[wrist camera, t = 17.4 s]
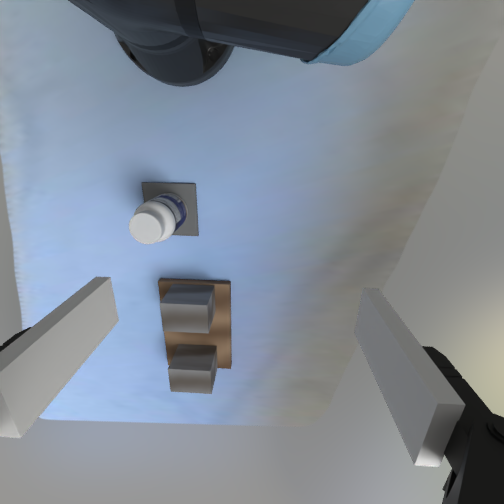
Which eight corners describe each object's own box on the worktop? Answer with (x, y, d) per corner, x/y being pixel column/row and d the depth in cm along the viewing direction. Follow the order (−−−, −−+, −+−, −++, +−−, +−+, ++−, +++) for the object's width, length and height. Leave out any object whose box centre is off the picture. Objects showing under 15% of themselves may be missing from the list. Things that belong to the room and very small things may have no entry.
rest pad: (142, 182, 41) (141, 182, 41) (195, 183, 41) (195, 184, 40) (149, 233, 44) (148, 234, 44) (198, 235, 44) (198, 235, 43)
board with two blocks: (160, 278, 47) (142, 300, 40) (230, 281, 46) (224, 304, 40) (170, 360, 54) (156, 391, 47) (231, 363, 53) (226, 395, 47)
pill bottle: (164, 232, 43) (137, 256, 34) (147, 200, 42) (113, 217, 33) (194, 219, 42) (174, 240, 33) (177, 186, 41) (152, 199, 32)
